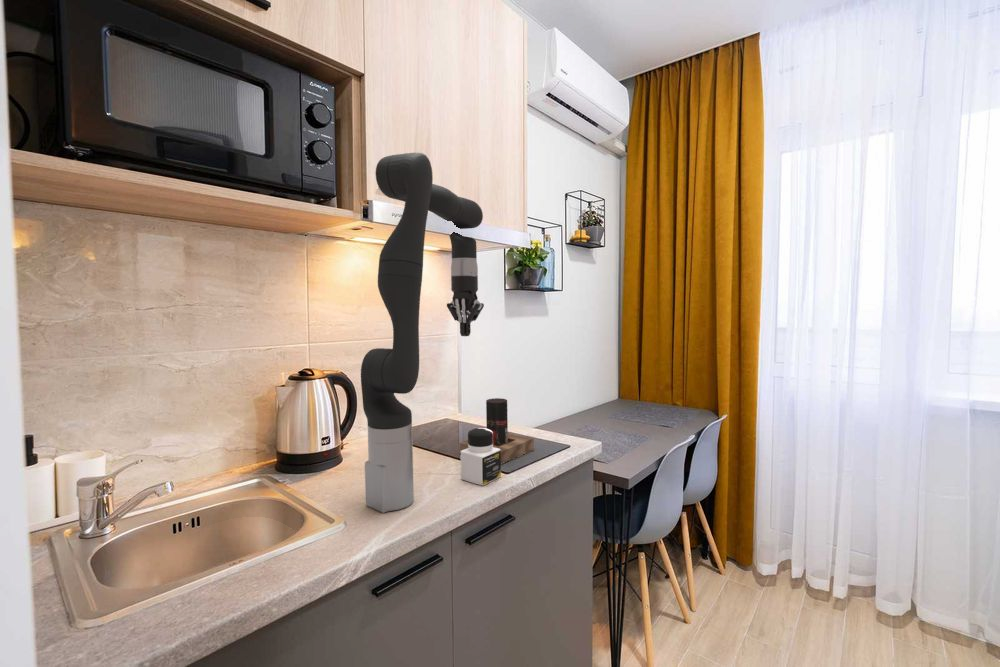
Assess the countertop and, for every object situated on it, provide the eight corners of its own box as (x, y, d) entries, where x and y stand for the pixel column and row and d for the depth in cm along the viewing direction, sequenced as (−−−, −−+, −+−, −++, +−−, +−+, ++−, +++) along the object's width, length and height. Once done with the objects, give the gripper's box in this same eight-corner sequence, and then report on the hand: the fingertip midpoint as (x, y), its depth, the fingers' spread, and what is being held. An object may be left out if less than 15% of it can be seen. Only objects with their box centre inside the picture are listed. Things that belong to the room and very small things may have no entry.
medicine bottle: (483, 486, 109) (482, 435, 108) (460, 479, 114) (459, 430, 113) (501, 477, 115) (501, 428, 114) (479, 470, 119) (478, 424, 118)
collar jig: (498, 466, 123) (498, 452, 122) (459, 455, 131) (459, 442, 131) (534, 450, 135) (533, 438, 135) (496, 441, 144) (496, 430, 143)
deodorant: (487, 449, 136) (486, 398, 135) (508, 449, 136) (507, 398, 135) (486, 456, 130) (485, 402, 129) (507, 456, 130) (507, 402, 129)
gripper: (438, 275, 134) (439, 336, 135) (472, 273, 126) (473, 338, 127) (457, 276, 140) (458, 334, 141) (490, 274, 131) (491, 336, 133)
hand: (465, 336), depth 134 cm, fingers closed
